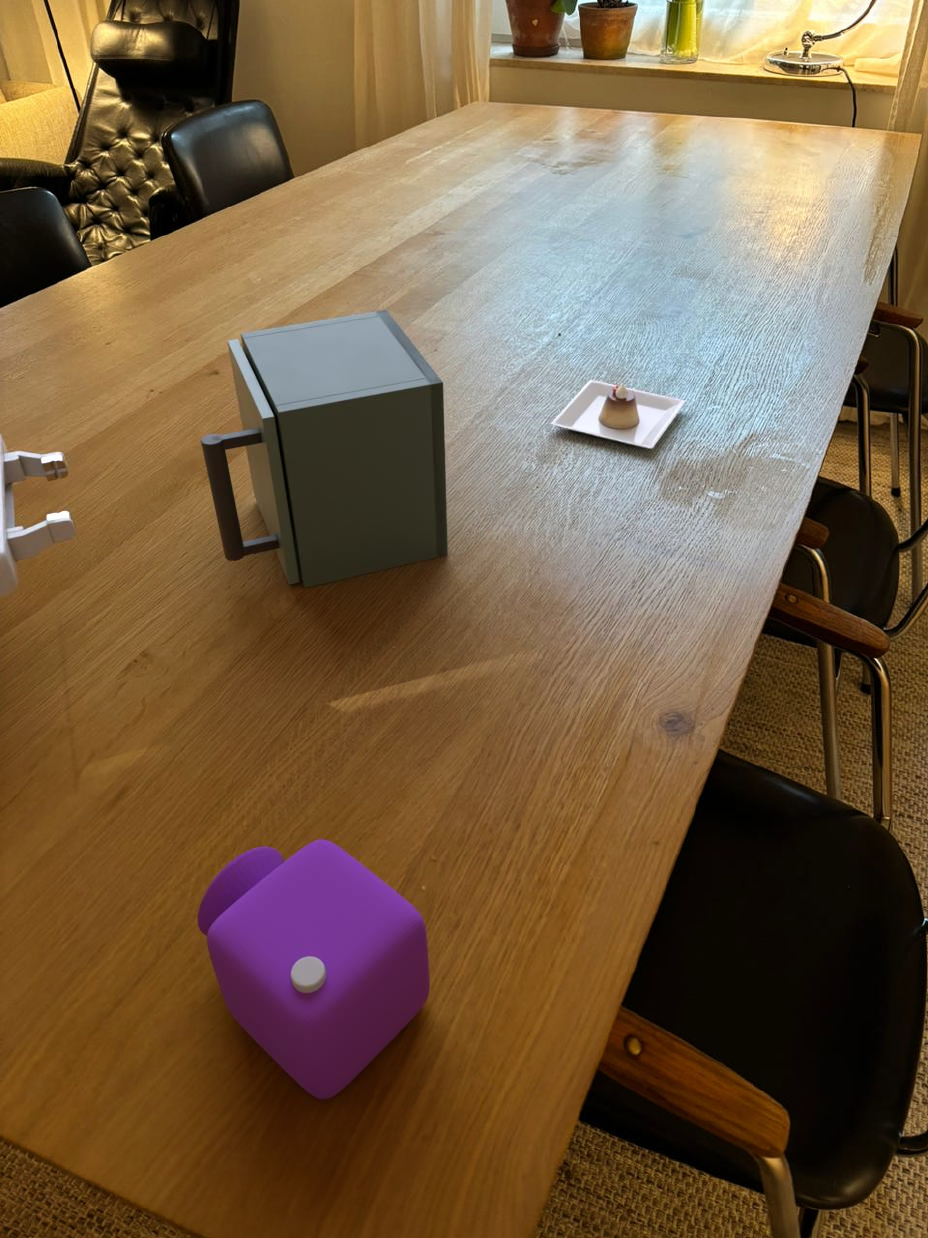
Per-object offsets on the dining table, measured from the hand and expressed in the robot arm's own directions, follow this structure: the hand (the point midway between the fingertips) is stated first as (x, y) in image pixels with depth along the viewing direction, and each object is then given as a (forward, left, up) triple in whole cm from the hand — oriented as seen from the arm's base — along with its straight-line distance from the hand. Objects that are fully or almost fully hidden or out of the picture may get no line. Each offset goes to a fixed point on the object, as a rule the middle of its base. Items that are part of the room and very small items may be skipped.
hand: (69, 492), depth 81 cm
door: (+14, +5, -12) cm, 19 cm away
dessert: (+58, +14, -13) cm, 61 cm away
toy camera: (+8, -42, -13) cm, 45 cm away
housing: (+24, +5, -13) cm, 28 cm away
